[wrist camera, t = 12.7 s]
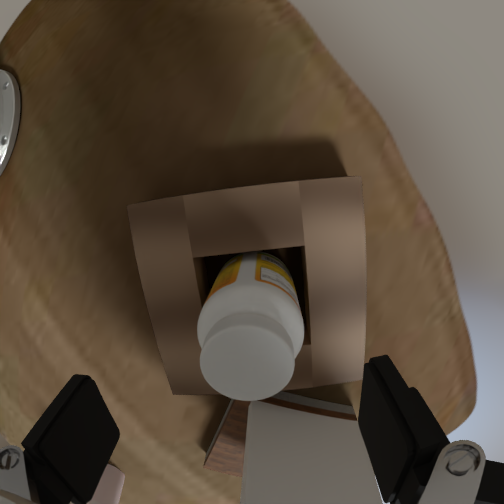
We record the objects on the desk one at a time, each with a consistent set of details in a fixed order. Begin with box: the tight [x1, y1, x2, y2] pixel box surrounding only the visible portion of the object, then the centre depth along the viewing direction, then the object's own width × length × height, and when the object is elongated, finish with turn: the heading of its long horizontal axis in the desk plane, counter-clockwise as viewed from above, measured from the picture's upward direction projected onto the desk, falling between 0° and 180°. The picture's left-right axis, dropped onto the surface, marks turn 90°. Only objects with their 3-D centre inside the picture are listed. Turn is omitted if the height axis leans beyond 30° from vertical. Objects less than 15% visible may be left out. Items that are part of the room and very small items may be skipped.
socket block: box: [127, 176, 367, 395], centre depth 20 cm, size 14×14×3 cm
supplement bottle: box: [197, 251, 304, 401], centre depth 17 cm, size 5×5×10 cm
